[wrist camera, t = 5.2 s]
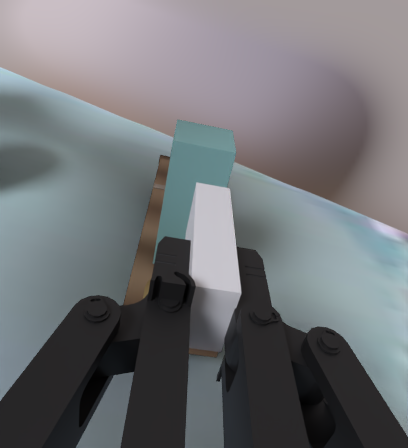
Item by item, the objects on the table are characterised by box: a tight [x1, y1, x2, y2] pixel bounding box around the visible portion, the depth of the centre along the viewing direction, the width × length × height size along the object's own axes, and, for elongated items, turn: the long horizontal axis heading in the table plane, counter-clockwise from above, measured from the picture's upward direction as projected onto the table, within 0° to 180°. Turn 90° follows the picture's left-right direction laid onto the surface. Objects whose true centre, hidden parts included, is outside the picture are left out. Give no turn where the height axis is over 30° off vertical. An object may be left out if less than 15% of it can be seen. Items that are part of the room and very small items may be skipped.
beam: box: [123, 155, 218, 357], centre depth 36 cm, size 26×7×6 cm, turn 0°
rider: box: [153, 120, 236, 264], centre depth 28 cm, size 4×4×12 cm
